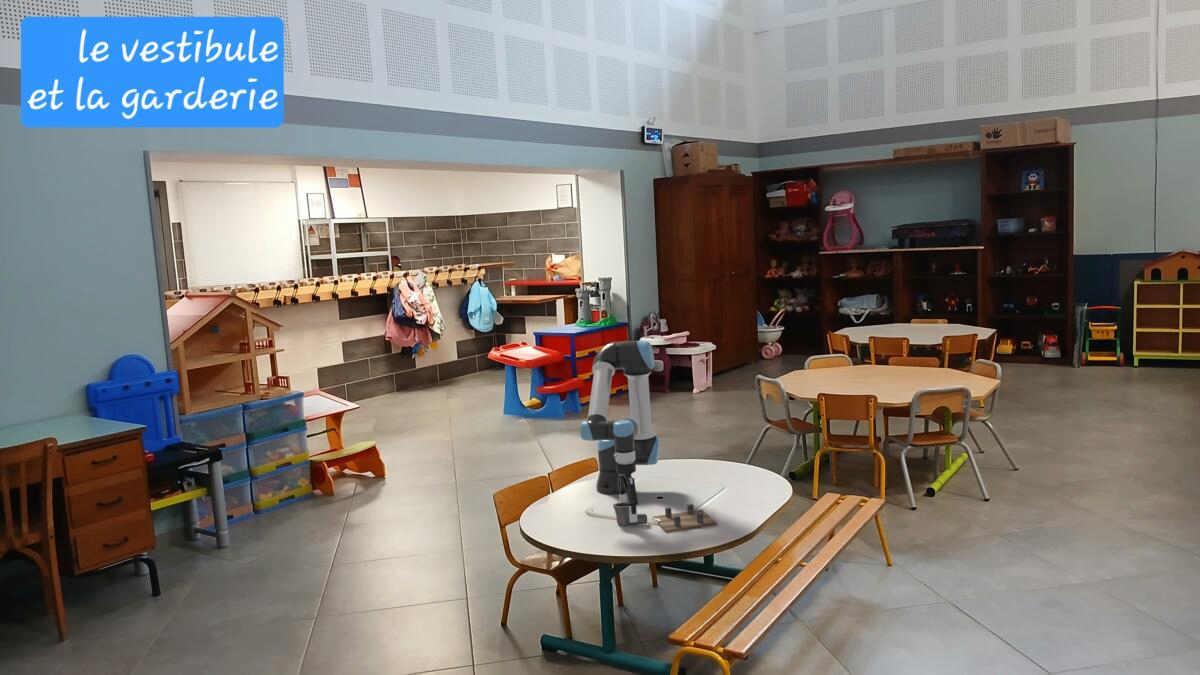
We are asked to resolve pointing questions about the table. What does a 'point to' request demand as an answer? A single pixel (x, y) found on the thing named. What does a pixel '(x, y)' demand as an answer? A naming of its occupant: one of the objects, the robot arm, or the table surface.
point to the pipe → (627, 515)
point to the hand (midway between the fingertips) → (628, 516)
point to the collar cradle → (684, 519)
